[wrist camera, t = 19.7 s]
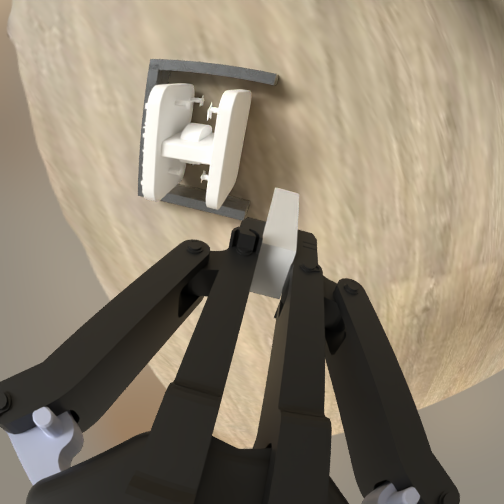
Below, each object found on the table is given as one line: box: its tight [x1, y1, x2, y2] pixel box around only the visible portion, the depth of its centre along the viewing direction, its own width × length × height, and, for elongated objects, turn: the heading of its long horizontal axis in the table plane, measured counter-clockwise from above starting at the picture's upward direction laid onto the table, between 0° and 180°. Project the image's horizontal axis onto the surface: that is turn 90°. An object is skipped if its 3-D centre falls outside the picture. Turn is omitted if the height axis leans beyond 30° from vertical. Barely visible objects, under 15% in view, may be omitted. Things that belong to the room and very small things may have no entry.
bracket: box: [138, 59, 279, 221], centre depth 38 cm, size 17×21×4 cm
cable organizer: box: [141, 83, 251, 210], centre depth 35 cm, size 15×11×12 cm
